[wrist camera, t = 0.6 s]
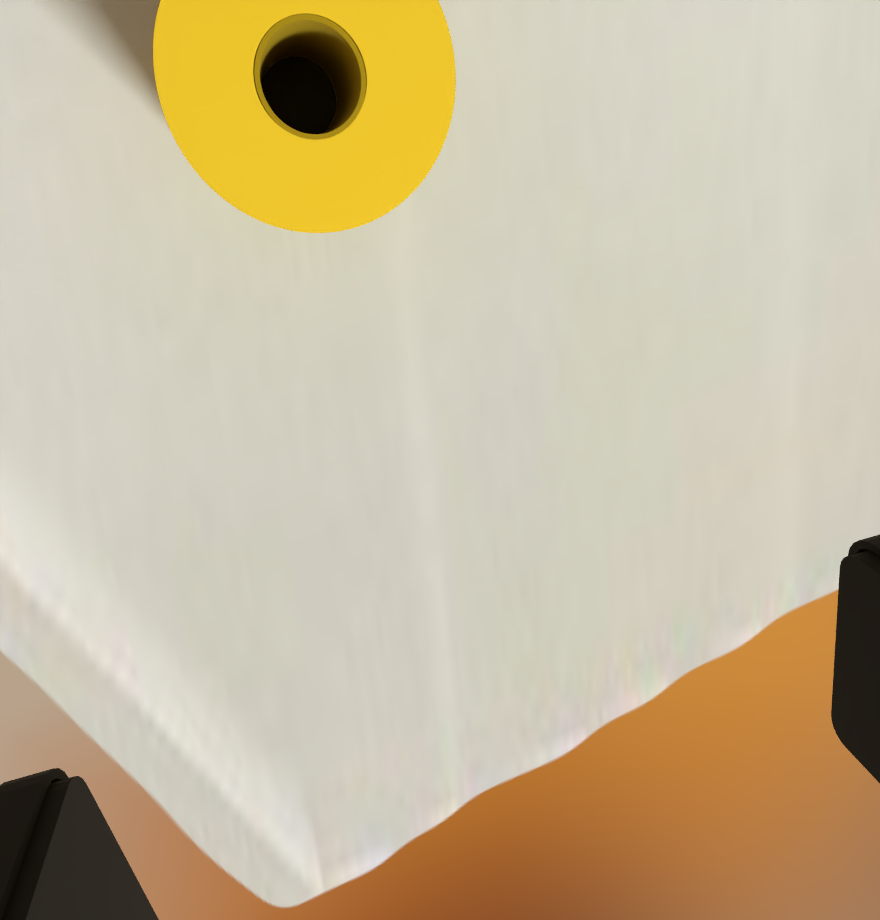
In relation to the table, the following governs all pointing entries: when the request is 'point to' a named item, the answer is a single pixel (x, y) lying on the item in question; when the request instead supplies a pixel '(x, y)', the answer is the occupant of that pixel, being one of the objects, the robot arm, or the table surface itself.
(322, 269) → the table surface
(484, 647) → the table surface
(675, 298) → the table surface
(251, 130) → the tape roll
